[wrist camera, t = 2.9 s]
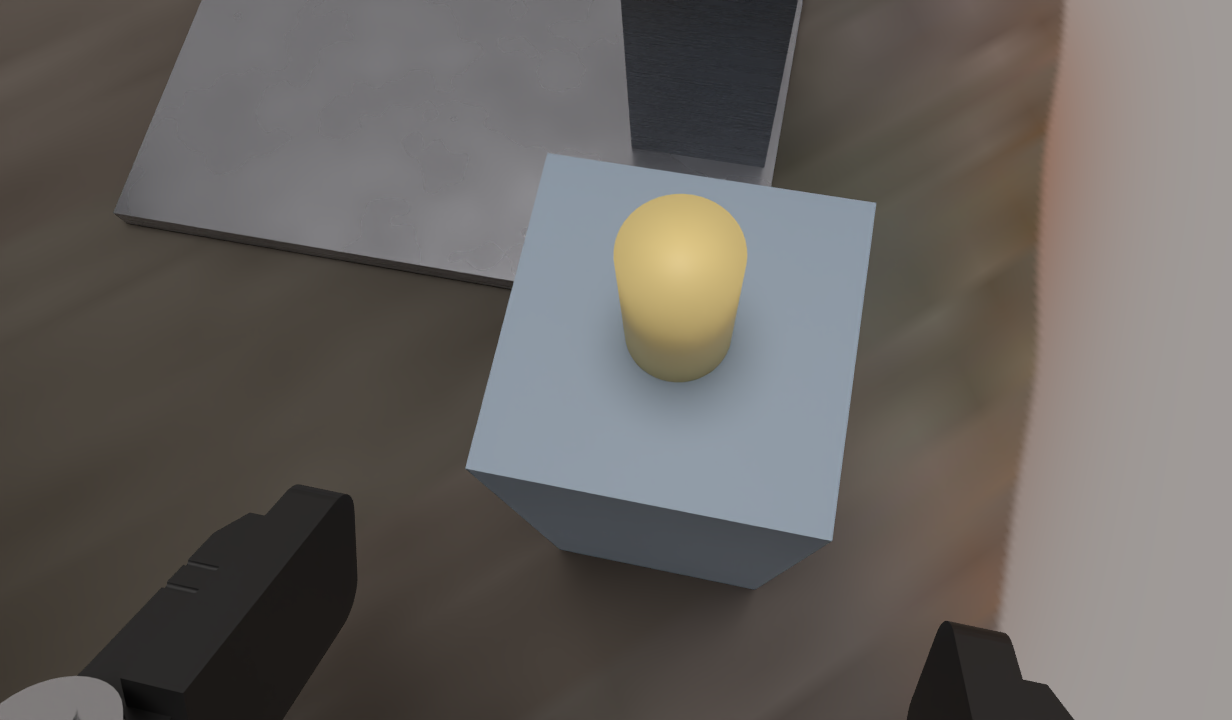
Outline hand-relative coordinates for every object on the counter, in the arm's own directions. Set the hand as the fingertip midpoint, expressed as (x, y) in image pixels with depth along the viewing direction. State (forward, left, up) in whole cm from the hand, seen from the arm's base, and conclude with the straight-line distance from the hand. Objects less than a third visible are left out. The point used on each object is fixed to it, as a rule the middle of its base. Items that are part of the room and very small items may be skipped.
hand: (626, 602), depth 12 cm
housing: (-2, +2, -9) cm, 9 cm away
